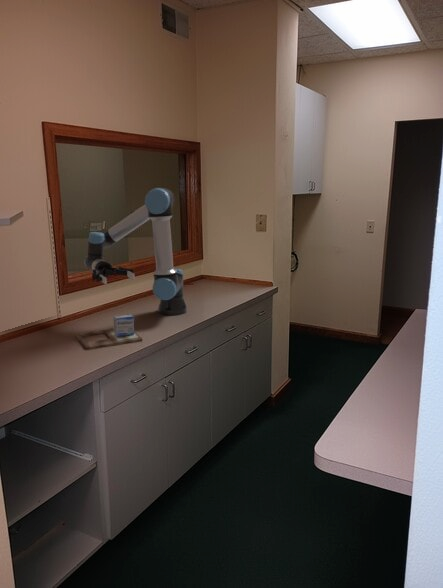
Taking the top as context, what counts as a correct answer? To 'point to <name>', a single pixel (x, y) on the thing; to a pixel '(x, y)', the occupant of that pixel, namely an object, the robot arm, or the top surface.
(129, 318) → the medicine box
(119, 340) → the pocket board
